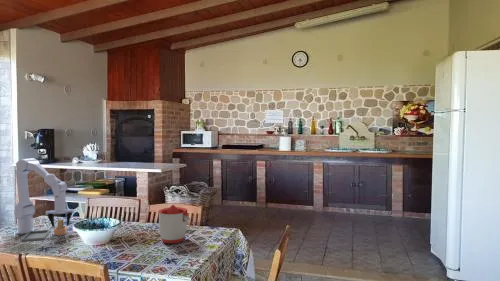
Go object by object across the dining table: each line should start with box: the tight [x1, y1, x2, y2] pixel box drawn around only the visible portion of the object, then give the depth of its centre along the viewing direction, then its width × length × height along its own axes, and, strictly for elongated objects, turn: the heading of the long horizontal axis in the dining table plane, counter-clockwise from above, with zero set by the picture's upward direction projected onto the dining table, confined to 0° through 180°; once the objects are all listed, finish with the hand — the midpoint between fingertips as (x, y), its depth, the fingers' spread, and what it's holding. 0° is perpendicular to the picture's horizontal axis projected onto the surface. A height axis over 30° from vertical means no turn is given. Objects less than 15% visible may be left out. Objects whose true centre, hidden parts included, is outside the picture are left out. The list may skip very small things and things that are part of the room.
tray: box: [20, 229, 51, 243], centre depth 205 cm, size 16×11×2 cm
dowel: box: [57, 218, 64, 229], centre depth 210 cm, size 3×3×8 cm
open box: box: [53, 225, 68, 236], centre depth 210 cm, size 6×6×4 cm
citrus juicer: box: [157, 204, 191, 244], centre depth 199 cm, size 16×17×20 cm
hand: (60, 226), depth 210 cm, fingers open, 7 cm apart
